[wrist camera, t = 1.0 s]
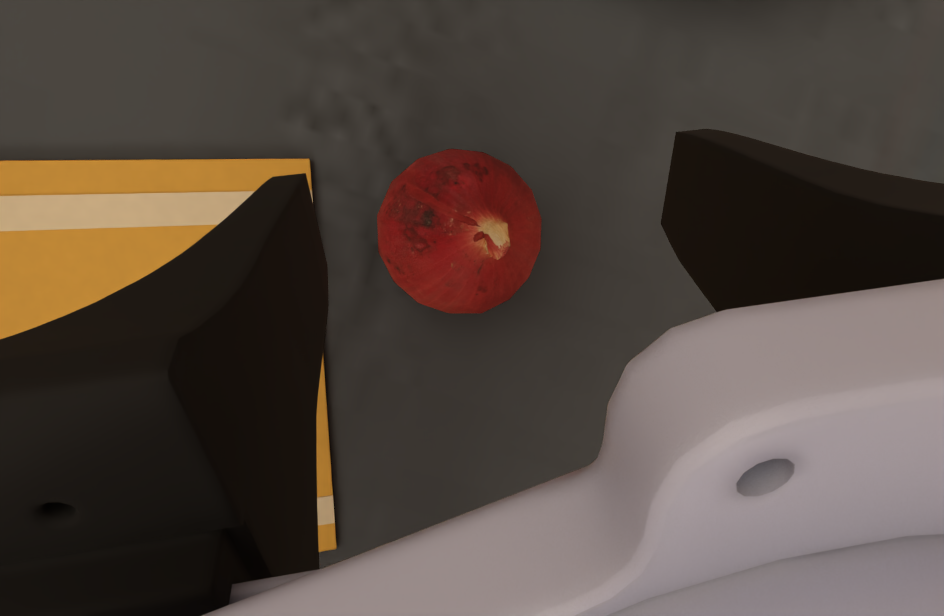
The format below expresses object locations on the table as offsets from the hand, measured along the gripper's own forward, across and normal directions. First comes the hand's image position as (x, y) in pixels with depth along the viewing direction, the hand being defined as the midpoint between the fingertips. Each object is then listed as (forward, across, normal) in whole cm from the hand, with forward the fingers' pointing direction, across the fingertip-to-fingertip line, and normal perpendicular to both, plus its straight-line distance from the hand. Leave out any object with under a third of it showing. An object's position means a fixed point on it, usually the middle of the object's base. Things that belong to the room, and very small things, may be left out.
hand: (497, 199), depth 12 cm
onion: (+12, 0, +8) cm, 14 cm away
